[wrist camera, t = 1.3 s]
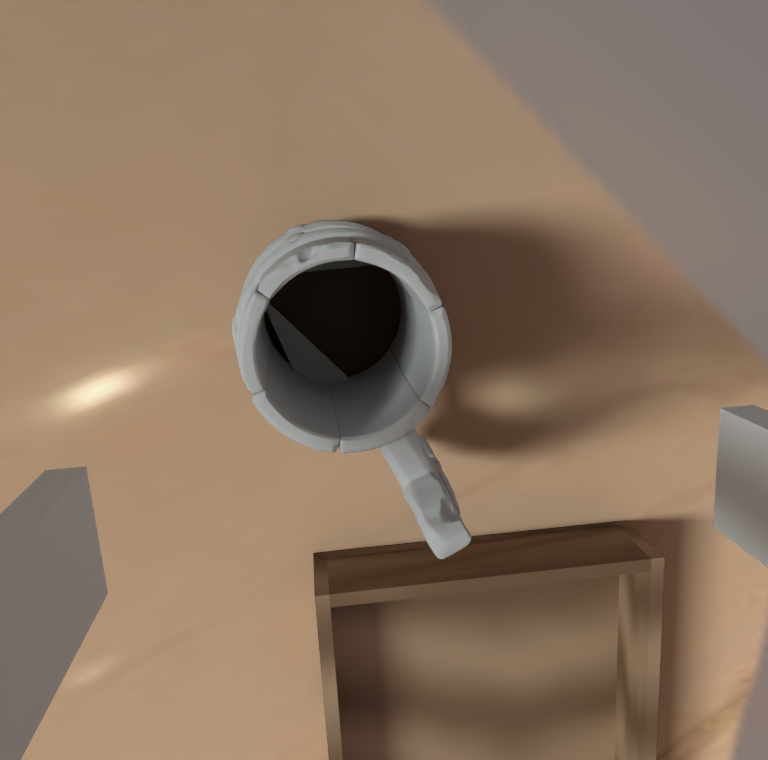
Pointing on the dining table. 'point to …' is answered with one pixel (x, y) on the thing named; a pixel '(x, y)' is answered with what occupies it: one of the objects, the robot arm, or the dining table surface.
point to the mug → (361, 391)
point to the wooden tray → (493, 647)
